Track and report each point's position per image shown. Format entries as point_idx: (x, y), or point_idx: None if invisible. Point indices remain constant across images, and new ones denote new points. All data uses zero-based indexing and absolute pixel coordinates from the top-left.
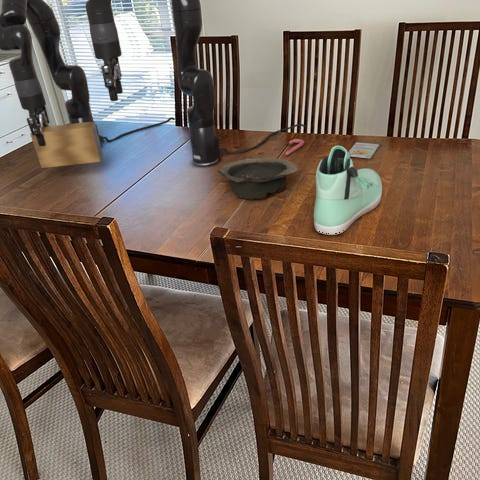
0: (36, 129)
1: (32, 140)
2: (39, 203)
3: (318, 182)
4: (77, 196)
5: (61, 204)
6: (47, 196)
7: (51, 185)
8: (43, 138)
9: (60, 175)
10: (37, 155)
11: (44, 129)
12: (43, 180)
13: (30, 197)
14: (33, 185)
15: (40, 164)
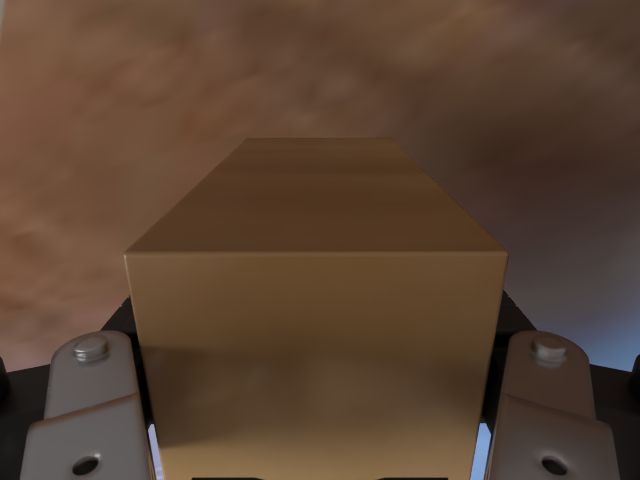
0: (371, 308)
1: (170, 210)
2: (27, 137)
3: None
4: (110, 314)
5: (19, 259)
6: (118, 159)
7: None
8: None
9: (416, 162)
10: (224, 160)
11: (315, 442)
12: (366, 65)
13: (109, 51)
14: (297, 13)
15: (239, 145)
